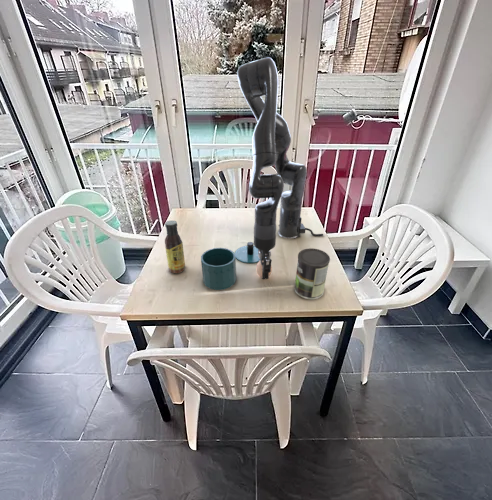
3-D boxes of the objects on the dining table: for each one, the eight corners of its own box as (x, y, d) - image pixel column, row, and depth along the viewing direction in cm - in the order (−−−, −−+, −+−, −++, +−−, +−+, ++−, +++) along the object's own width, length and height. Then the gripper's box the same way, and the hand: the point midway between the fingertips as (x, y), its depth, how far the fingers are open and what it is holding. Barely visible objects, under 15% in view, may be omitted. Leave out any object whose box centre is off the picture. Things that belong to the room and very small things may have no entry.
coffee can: (295, 299, 96) (299, 265, 88) (293, 280, 105) (296, 247, 97) (326, 300, 96) (333, 266, 88) (321, 281, 104) (326, 248, 97)
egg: (261, 283, 102) (262, 266, 98) (253, 274, 107) (253, 258, 102) (274, 277, 105) (275, 261, 101) (265, 270, 109) (266, 253, 105)
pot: (234, 269, 110) (234, 246, 104) (237, 289, 100) (236, 265, 94) (203, 272, 108) (201, 248, 103) (203, 292, 99) (200, 267, 93)
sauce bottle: (177, 276, 106) (169, 229, 96) (165, 270, 109) (156, 224, 98) (189, 267, 111) (183, 221, 100) (177, 262, 114) (170, 217, 103)
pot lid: (263, 246, 124) (263, 234, 121) (268, 263, 114) (268, 250, 110) (233, 248, 123) (233, 236, 120) (236, 265, 112) (235, 253, 109)
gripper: (280, 243, 90) (277, 284, 99) (271, 223, 102) (270, 261, 111) (256, 245, 89) (256, 286, 99) (251, 224, 102) (251, 262, 111)
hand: (263, 273), depth 105 cm, fingers closed on egg, 5 cm apart
